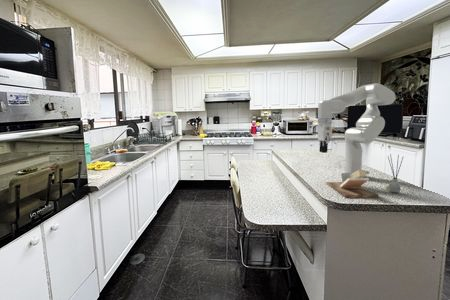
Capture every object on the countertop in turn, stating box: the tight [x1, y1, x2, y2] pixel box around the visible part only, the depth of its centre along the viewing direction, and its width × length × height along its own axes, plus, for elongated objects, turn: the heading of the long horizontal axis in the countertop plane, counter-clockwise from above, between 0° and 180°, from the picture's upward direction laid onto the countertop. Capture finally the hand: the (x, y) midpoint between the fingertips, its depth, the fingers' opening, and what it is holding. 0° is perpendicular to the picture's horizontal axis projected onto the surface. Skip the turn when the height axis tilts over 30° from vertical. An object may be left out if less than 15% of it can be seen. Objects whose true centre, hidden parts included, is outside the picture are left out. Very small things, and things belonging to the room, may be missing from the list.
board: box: [324, 181, 380, 199], centre depth 125 cm, size 16×24×2 cm, turn 179°
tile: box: [340, 177, 370, 188], centre depth 121 cm, size 10×11×1 cm
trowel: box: [340, 169, 367, 183], centre depth 119 cm, size 8×6×13 cm
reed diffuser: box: [385, 153, 404, 193], centre depth 120 cm, size 10×7×20 cm
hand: (323, 152), depth 141 cm, fingers closed
